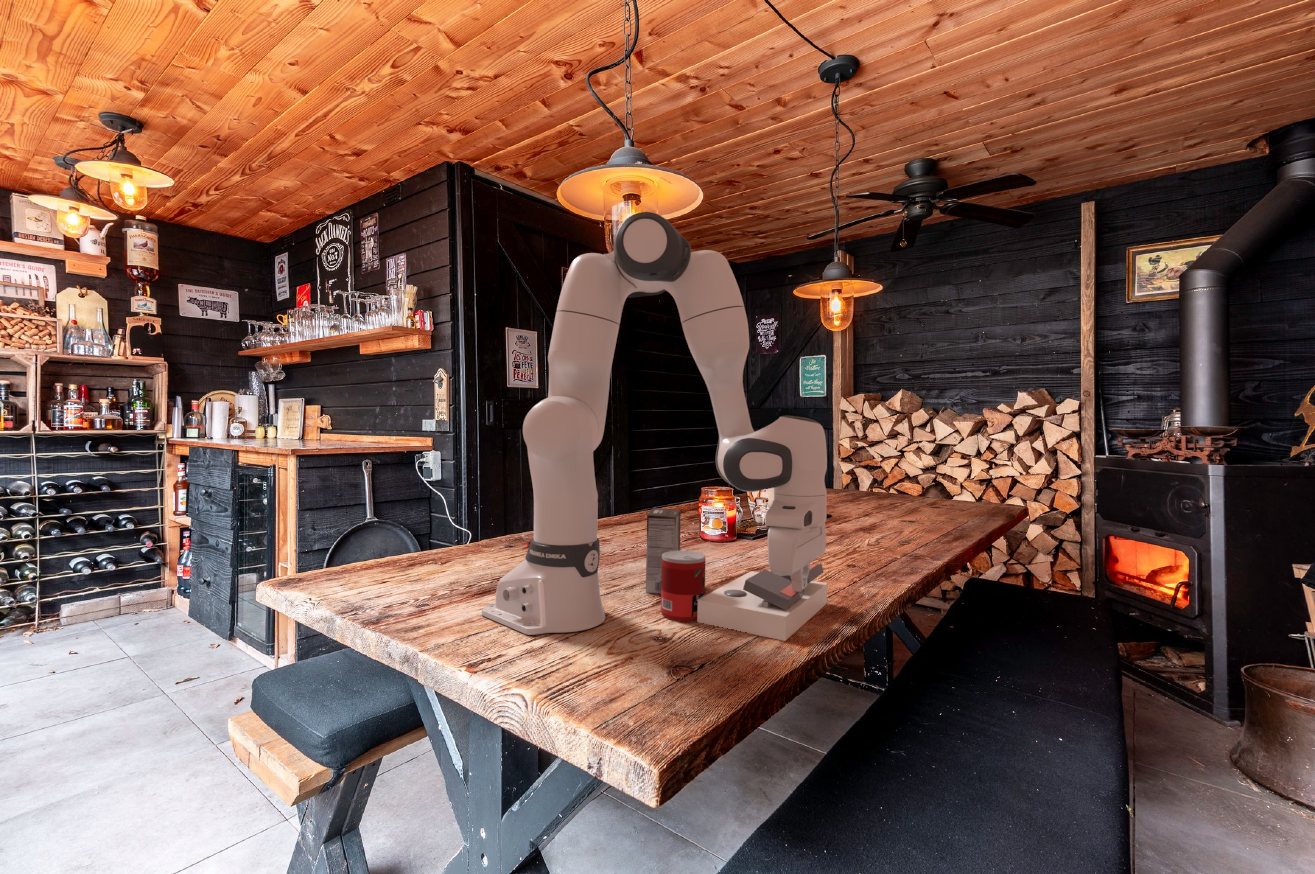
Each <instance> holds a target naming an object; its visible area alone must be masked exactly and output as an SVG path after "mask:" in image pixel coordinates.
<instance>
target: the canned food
mask: <svg viewBox="0 0 1315 874" xmlns="http://www.w3.org/2000/svg"><path fill="white" fill-rule="evenodd" d="M706 561H707V560H706V555H705V554H703V553H702V552H699V551H692V550H680V551H669V552H665V553H663V554H662V568H661V594H660V612H661V614H662V616H663V617H664V618H665V619H667V618H668V620H669V621H674V620H676V621H675V622H694V621H697V612H698V599H700V598H702V597H704V596H705V595H706V567H707V566H706Z"/></svg>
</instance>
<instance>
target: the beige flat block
mask: <svg viewBox="0 0 1315 874" xmlns="http://www.w3.org/2000/svg"><path fill="white" fill-rule="evenodd" d="M759 572H760V571H752V570H751V571H749V572H747V573H744V574H743V575H741V576H739V577H737V578H736V579H734V580H732V581H730V582H728V583H726V584H724V585H722V586H721V587H719V588H717V589H715V590H713V591H711V592H709V593H707V594H705V596H704V597H702V598H700V599H698V612H697V620H696V621H697V623H699V624H703V623H704V625H709V626H713V625H714V626H713V627H717V626H719V627H718V628H722V627H723V629H727V628H728V630H731V629H734V630H733V631H736V630H737V632H740V631H741V632H742V633H745V632H747V633H746V634H750V635H753V636H754V635H755V636H760V637H764V638H768V639H769V638H770V639H774V640H779V641H782V642H786V641H787V640H788V639H789V638H790V637H791V636H792V635H794V634H795V633H796V632H797V631H799V629H800V628H801V627H803V626H804V625H805V624H806V623H807V622H808V621H809V620H810V619H811V618H813V616H815V615H816V614H817V613H818V612H819V611H820V610H822V608H824V606H826V605H827V604H828V582H822V581H816V580H813V581H811V582H810V583H807V587H806V588H805V591H804V595H803V597H802V598H801V599H799V600H798V601H797V602H795V603H794V604H793V605H792V606H790V607H789V608H788V609H786V610H784V609H782V608H780V607H778V606H776V605H774V604H772V603H770V602H768V601H766V600H764V599H762V598H760V597H757V596H755V595H753V594H751V593H749V592H747V591H745V590H743V588H744V584H745V581H746V580H747V579H748V578H750V577H752V576H754V575H756V574H757V573H759Z"/></svg>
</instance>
